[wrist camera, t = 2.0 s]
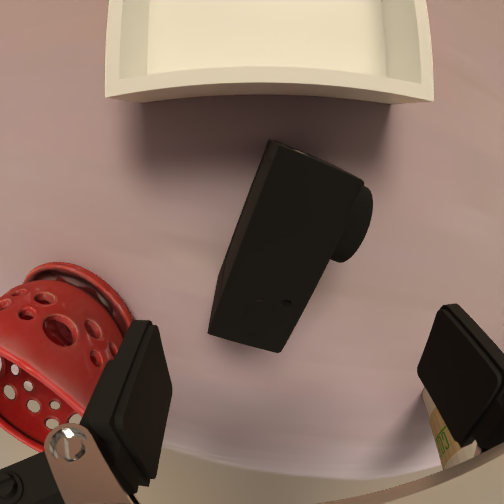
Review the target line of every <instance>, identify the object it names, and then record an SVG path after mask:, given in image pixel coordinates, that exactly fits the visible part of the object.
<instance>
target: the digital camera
mask: <svg viewBox="0 0 504 504" xmlns="http://www.w3.org/2000/svg"><path fill="white" fill-rule="evenodd" d="M372 210H373V198H372V194H371V191H370V190H369V189H368V188H367V187H365V186H364V182H363V180H361V179H360V178H358V177H356V176H354V175H352V174H350V173H348V172H346V171H344V170H342V169H340V168H338V167H336V166H334V165H332V164H330V163H328V162H326V161H323V160H321V159H319V158H316V157H314V156H312V155H309V154H307V153H304V152H302V151H299V150H297V149H294V148H292V147H289V146H287V145H284V144H282V143H279V142H276V141H273V140H270V139H269V141H268V143H267V146H266V149H265V151H264V154H263V156H262V159H261V162H260V164H259V167H258V170H257V172H256V175H255V177H254V180H253V183H252V185H251V188H250V191H249V193H248V196H247V199H246V201H245V204H244V207H243V209H242V212H241V215H240V218H239V220H238V223H237V226H236V228H235V231H234V234H233V237H232V239H231V242H230V245H229V248H228V250H227V253H226V256H225V259H224V261H223V264H222V267H221V270H220V273H219V275H218V280H217V285H216V290H215V296H214V301H213V306H212V311H211V317H210V322H209V328H208V334H210V335H213V336H217V337H220V338H224V339H227V340H231V341H234V342H238V343H241V344H245V345H249V346H252V347H256V348H260V349H264V350H268V351H272V352H275V353H279V352H281V351H282V349H283V348H284V346H285V344H286V342H287V340H288V339H289V337H290V335H291V333H292V331H293V329H294V328H295V326H296V324H297V322H298V320H299V318H300V316H301V315H302V313H303V311H304V309H305V307H306V305H307V303H308V301H309V299H310V297H311V296H312V294H313V292H314V290H315V288H316V286H317V284H318V282H319V280H320V278H321V276H322V274H323V272H324V270H325V268H326V266H327V264H328V262H329V260H330V259H331V260H333V261H336V262H340V263H341V262H345V261H347V260H348V259H349V258H351V257H352V256H353V255H354V253H355V252H356V251H357V249H358V248H359V246H360V245H361V243H362V241H363V239H364V238H365V235H366V233H367V230H368V228H369V225H370V221H371V217H372Z"/></svg>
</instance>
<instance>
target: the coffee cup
mask: <svg viewBox="0 0 504 504" xmlns="http://www.w3.org/2000/svg"><path fill="white" fill-rule="evenodd" d="M422 397H423V400H424V403H425V406H426V409H427V412H428V415H429V422H430V425H431V428H432V432H433V435H434V438H435V442H436V445H437V449H438V453H439V456H440V460H441V464H442V467H443V470H445V469H448V468H450V467H453V466H455V465H457V464H460V463H462V462H464V461H467V460H469V459H471V458H473V457H474V454H475V450H476V445H477V442H476V440H474V442H473V443H472V444H470V445H468V446H465V447H463V448H461V447H460V446H459V444H458V442H456V441H454V439H453V437H452V435H451V434H450V432H449V430H448V428H447V426H446V424H445V422H444V420H443V419H442V417H441V415H440V413H439V411H438V409H437V408H436V406H435V404H434V402H433V400H432V399H431V397H430V395H429V393H428V392H427V390H426V388H424V390H423V393H422Z"/></svg>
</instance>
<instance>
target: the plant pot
mask: <svg viewBox="0 0 504 504" xmlns="http://www.w3.org/2000/svg"><path fill="white" fill-rule="evenodd" d="M132 321H133V319H132V316H131V314H130V312H129V310H128V308H127V307H126V305H125V304H124V302H123V301H122V299H121V298H120V296H119V295H118V294H117V293H116V292H115V291H114V290H113V288H112V287H110V286H109V285H108V284H107V283H106V282H105V281H104V280H102V279H101V278H100V277H99V276H97V275H95V274H94V273H92V272H91V271H89V270H87V269H84V268H82V267H80V266H77V265H74V264H70V263H64V262H52V263H46V264H43V265H40V266H38V267H36V268H34V269H33V270H32V271H31V272H30V273H29V274H28V275H27V277H26V278H25V280H24V282H23V284H22V285H19V286H17V287H15V288H13V289H11V290H9V291H8V292H7V293H6V294H4V295H3V296H2V297H0V357H1V361H2V368H1V371H0V427H2V428H3V429H4V430H5V431H6V432H8V433H9V434H11V435H12V436H13V437H15V438H17V439H18V440H19V441H21V442H22V443H24V444H26V445H28V446H29V447H31V448H33V449H35V450H37V451H38V452H43V451H45V449H44V443H45V439H46V437H47V435H48V434H49V433H50V432H51V431H52V430H53V429H49V428H48V427H47V426H46V421H47V420H48V419H56V420H57V421H58V422H59V425H62V424H66V423H69V419H70V418H71V417H72V416H73V415H74V414H77V413H78V414H79V415H80V416H81V417H83V414H84V412H85V410H86V407H87V405H88V403H89V400H90V398H91V396H92V394H93V391H94V389H95V387H96V385H97V382H98V380H99V378H100V376H101V374H102V372H103V369H104V367H105V365H106V363H107V362H108V361H109V360H110V359H114V358H115V355H116V353H117V351H118V349H119V347H120V345H121V343H122V341H123V338H124V336H125V334H126V332H127V330H128V328H129V326H130V324H131V322H132ZM13 364H15V365H17V366H18V369H19V373H18V375H14V374H13V373H12V372H11V366H12V365H13ZM25 381H29V382H31V383H32V386H33V389H32V391H27V390H26V389H25V388H24V385H23V384H24V382H25ZM6 385H10V386H11V387H12V388H13V389H14V391H15V398H14V399H12V400H11V399H9V398H8V397H7V396H6V395H5V394H4V387H5V386H6ZM29 400H35V401H37V402H38V403H39V405H40V410H39V411H38V412H36V413H34V412H32V411H30V410H29V409H28V407H27V403H28V401H29ZM53 401H57V402H58V403H59V404H60V408H59V409H57V410H55V409H52V408H51V406H50V404H51V402H53Z"/></svg>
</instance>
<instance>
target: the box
mask: <svg viewBox="0 0 504 504" xmlns="http://www.w3.org/2000/svg"><path fill="white" fill-rule="evenodd" d="M255 94H268V95H304V96H321V97H334V98H345V99H354V100H363V101H371V102H379V103H385V104H402V103H416V102H434V82H433V61H432V48H431V37H430V28H429V20H428V12H427V6H426V0H109V9H108V20H107V35H106V56H105V98H112V99H119V100H126V101H132V102H138V103H144V102H152V101H160V100H168V99H178V98H189V97H202V96H219V95H255Z"/></svg>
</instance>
